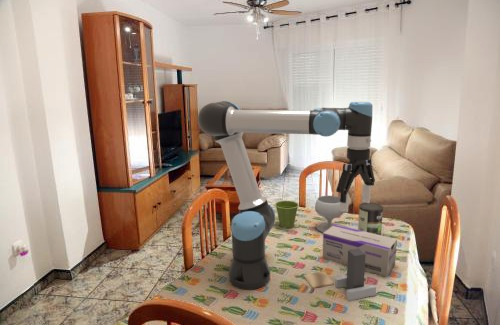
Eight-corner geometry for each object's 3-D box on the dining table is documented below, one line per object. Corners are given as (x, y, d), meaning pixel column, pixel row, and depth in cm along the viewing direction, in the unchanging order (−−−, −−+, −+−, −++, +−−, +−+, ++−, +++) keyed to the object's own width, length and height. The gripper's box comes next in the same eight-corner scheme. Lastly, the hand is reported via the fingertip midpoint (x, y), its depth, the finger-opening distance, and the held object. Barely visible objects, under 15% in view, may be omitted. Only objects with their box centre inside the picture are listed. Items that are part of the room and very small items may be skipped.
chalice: (332, 221, 170) (333, 193, 167) (350, 231, 158) (351, 201, 155) (309, 225, 166) (309, 197, 162) (325, 237, 153) (325, 206, 150)
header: (348, 300, 107) (349, 292, 106) (334, 285, 115) (335, 277, 115) (376, 295, 109) (376, 287, 109) (360, 280, 118) (360, 272, 117)
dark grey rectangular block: (352, 294, 110) (354, 255, 107) (346, 288, 114) (348, 250, 111) (363, 292, 111) (365, 254, 108) (356, 286, 115) (358, 248, 112)
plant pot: (300, 230, 161) (300, 208, 158) (275, 230, 161) (275, 208, 159) (297, 220, 172) (297, 200, 170) (274, 221, 173) (274, 200, 170)
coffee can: (384, 233, 155) (386, 205, 152) (377, 242, 147) (379, 211, 144) (362, 228, 161) (363, 200, 158) (354, 236, 153) (355, 207, 150)
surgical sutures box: (395, 265, 128) (396, 239, 126) (386, 277, 120) (388, 250, 118) (333, 247, 143) (334, 224, 141) (322, 257, 135) (323, 233, 133)
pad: (312, 288, 114) (312, 287, 114) (303, 276, 121) (303, 274, 121) (334, 284, 116) (334, 283, 116) (323, 272, 123) (323, 271, 123)
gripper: (346, 154, 103) (343, 218, 108) (387, 144, 119) (383, 201, 123) (326, 150, 109) (324, 212, 114) (368, 142, 124) (365, 196, 129)
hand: (355, 206), depth 118 cm, fingers open, 13 cm apart
